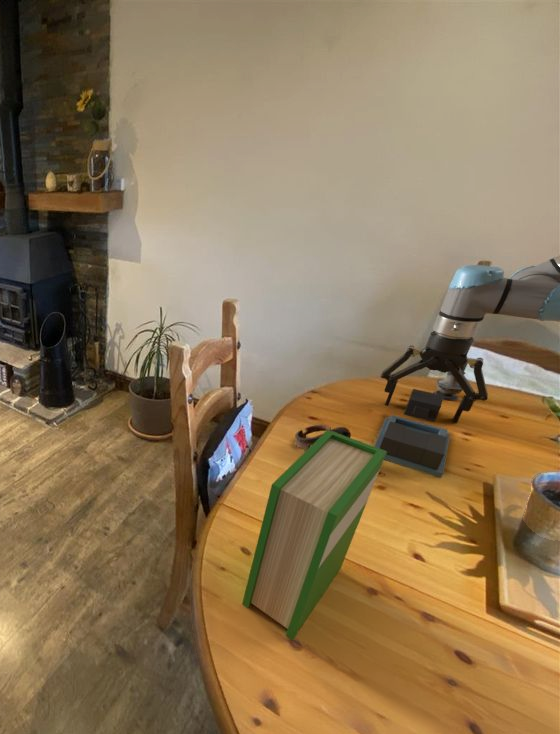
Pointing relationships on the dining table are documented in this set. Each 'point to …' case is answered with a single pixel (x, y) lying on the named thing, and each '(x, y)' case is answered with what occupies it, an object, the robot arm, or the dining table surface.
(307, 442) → the dark brown curved piece
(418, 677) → the dining table surface
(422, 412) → the black box
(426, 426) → the board
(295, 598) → the hardback book
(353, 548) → the dining table surface
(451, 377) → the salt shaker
